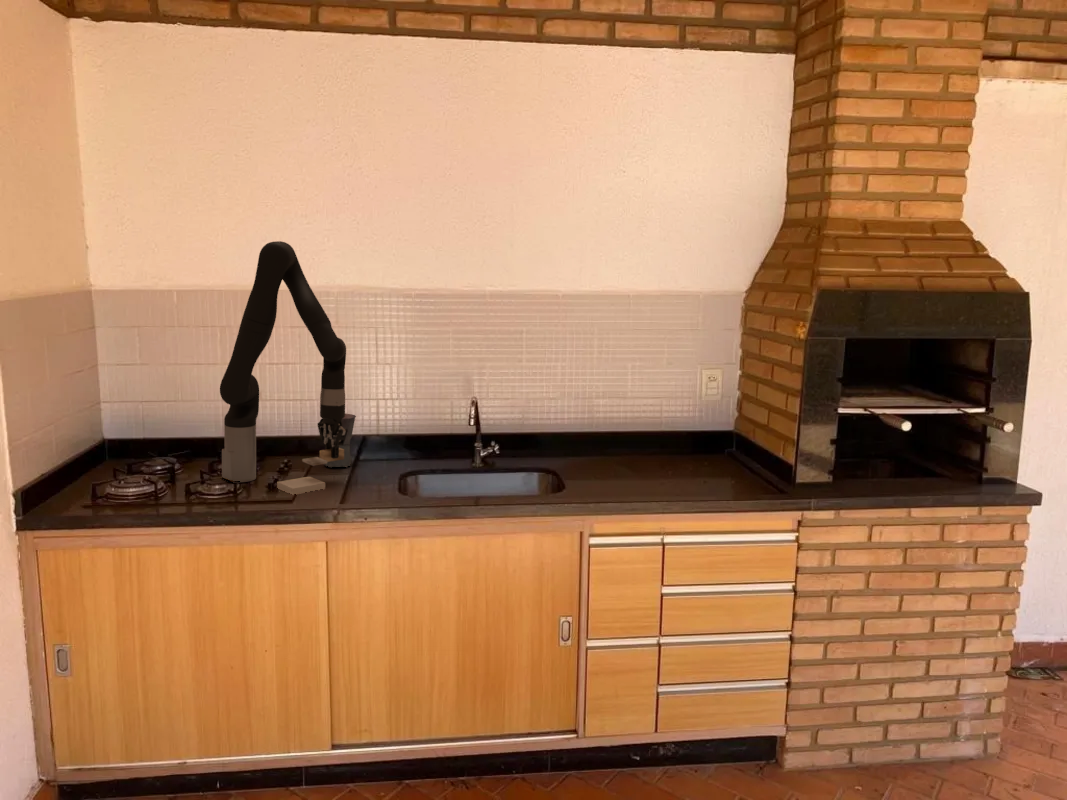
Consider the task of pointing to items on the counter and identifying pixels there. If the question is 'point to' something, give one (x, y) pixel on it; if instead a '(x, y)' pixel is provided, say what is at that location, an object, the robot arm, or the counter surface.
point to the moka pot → (346, 424)
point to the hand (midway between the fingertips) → (331, 456)
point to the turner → (324, 457)
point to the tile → (300, 485)
